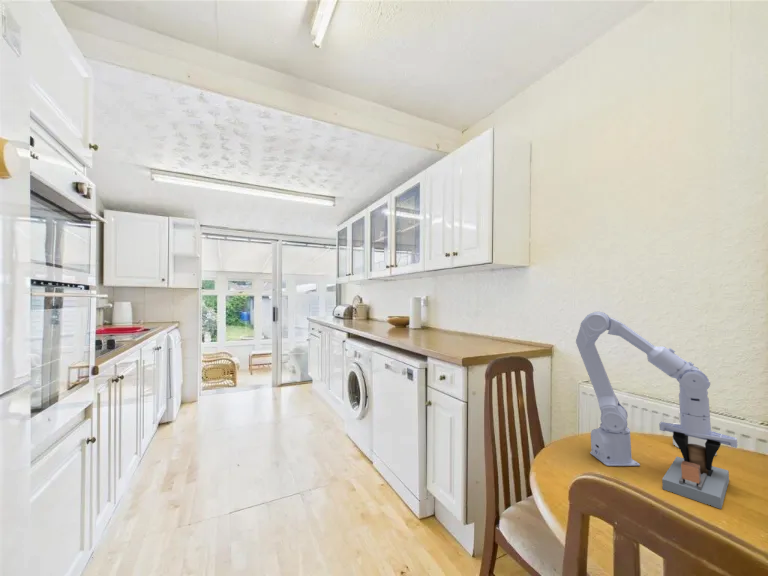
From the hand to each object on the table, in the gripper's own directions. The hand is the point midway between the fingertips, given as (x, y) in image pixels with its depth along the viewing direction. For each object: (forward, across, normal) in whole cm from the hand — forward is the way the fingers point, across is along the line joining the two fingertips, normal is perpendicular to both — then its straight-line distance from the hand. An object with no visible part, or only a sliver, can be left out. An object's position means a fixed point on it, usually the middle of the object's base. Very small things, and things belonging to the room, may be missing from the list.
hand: (698, 465), depth 83 cm
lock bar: (+1, 0, +8) cm, 8 cm away
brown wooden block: (+2, 0, 0) cm, 2 cm away
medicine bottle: (+4, +4, -21) cm, 22 cm away
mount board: (+3, 0, +4) cm, 5 cm away
